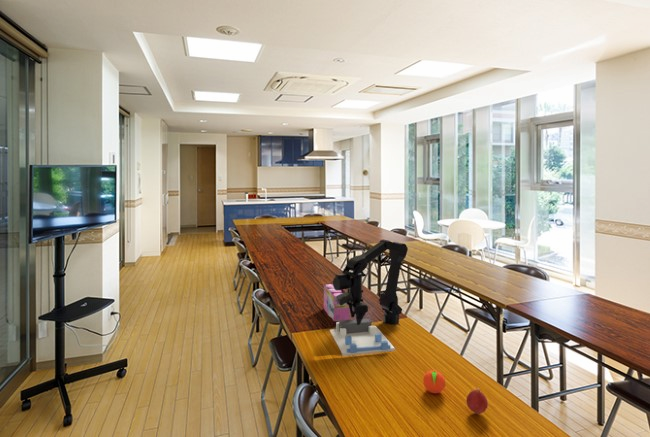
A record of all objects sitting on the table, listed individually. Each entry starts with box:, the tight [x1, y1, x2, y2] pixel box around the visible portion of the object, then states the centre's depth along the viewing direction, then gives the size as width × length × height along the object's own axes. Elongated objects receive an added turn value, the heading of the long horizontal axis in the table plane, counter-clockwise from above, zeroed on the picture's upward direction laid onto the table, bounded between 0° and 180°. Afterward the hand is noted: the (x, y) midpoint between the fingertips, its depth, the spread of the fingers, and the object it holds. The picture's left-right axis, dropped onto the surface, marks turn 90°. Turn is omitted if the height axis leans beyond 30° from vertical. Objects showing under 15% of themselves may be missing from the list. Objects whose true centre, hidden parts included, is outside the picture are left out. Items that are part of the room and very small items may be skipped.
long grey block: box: [338, 318, 373, 334], centre depth 172 cm, size 14×4×4 cm, turn 101°
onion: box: [466, 388, 489, 416], centre depth 113 cm, size 6×6×8 cm
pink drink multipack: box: [323, 283, 350, 322], centre depth 196 cm, size 24×8×14 cm, turn 14°
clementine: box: [422, 369, 446, 394], centre depth 124 cm, size 8×7×7 cm
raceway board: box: [329, 321, 396, 357], centre depth 164 cm, size 22×25×4 cm
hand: (355, 320), depth 171 cm, fingers open, 9 cm apart
